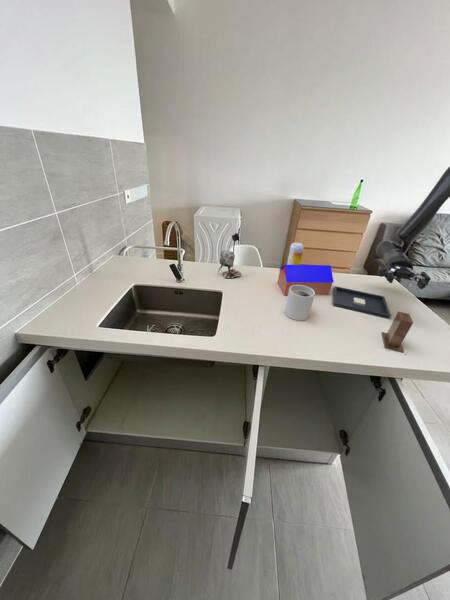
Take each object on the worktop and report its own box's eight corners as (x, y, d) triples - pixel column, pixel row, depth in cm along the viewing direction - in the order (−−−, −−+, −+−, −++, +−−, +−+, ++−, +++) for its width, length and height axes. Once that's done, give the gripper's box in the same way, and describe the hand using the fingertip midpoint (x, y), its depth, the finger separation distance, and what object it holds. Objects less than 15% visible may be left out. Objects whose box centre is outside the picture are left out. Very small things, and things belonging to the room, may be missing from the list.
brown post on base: (396, 340, 80) (412, 312, 74) (401, 356, 74) (418, 326, 68) (379, 336, 82) (393, 308, 76) (382, 351, 76) (398, 321, 69)
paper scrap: (363, 301, 100) (364, 299, 100) (364, 306, 97) (365, 304, 96) (353, 299, 101) (354, 297, 101) (353, 303, 98) (354, 301, 98)
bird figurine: (218, 271, 120) (219, 230, 109) (240, 272, 120) (244, 231, 110) (217, 278, 113) (218, 235, 103) (241, 279, 113) (245, 237, 103)
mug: (294, 322, 86) (300, 298, 81) (278, 309, 93) (283, 286, 88) (317, 316, 90) (324, 293, 85) (300, 303, 97) (306, 281, 92)
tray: (382, 300, 103) (384, 296, 102) (388, 320, 90) (390, 315, 89) (333, 290, 109) (334, 286, 108) (332, 307, 96) (334, 302, 95)
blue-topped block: (276, 282, 112) (280, 259, 106) (318, 283, 114) (324, 259, 108) (283, 296, 102) (288, 270, 96) (329, 296, 104) (337, 271, 98)
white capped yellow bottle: (300, 274, 121) (307, 245, 114) (291, 276, 118) (298, 247, 111) (291, 269, 126) (297, 241, 118) (282, 272, 123) (288, 243, 115)
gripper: (380, 251, 90) (386, 267, 77) (425, 259, 85) (440, 277, 73) (372, 270, 94) (377, 288, 81) (415, 278, 89) (427, 298, 77)
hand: (407, 283), depth 77 cm, fingers open, 8 cm apart
